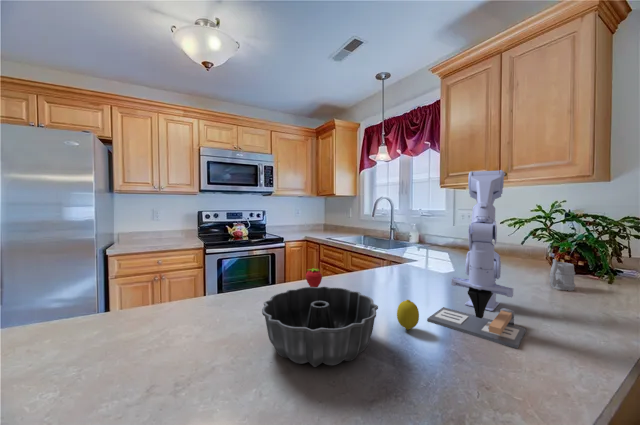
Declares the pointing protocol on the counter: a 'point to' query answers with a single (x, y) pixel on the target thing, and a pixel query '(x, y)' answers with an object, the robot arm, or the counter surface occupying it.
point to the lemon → (407, 314)
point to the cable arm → (501, 321)
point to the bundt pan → (319, 324)
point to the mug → (562, 276)
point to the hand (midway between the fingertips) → (479, 316)
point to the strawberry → (313, 277)
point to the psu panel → (477, 326)
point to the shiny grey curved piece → (511, 321)
